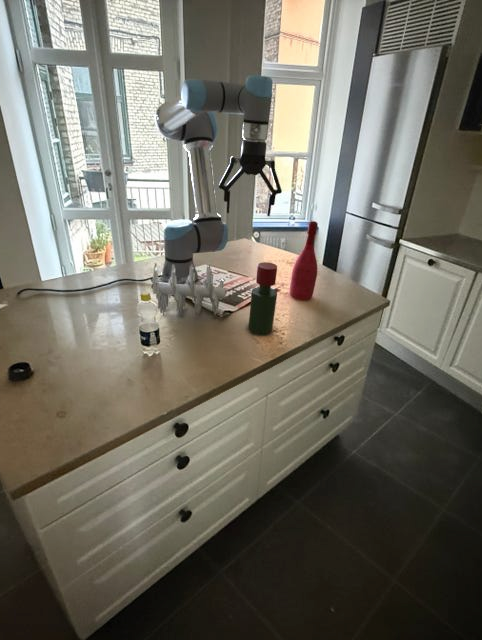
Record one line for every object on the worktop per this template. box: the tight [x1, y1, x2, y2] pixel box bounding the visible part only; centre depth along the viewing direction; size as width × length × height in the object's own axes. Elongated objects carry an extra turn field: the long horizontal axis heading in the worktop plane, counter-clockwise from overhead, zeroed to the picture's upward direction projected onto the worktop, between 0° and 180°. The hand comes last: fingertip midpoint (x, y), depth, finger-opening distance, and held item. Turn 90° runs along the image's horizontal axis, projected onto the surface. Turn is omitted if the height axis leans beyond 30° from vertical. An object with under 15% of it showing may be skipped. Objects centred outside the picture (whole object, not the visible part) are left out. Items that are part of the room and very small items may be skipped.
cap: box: [255, 261, 278, 287], centre depth 116 cm, size 6×6×6 cm
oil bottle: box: [247, 285, 278, 336], centre depth 121 cm, size 8×8×22 cm
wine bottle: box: [289, 220, 318, 301], centre depth 144 cm, size 10×10×30 cm
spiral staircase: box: [152, 262, 226, 317], centre depth 129 cm, size 18×18×25 cm
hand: (248, 213), depth 124 cm, fingers open, 13 cm apart
